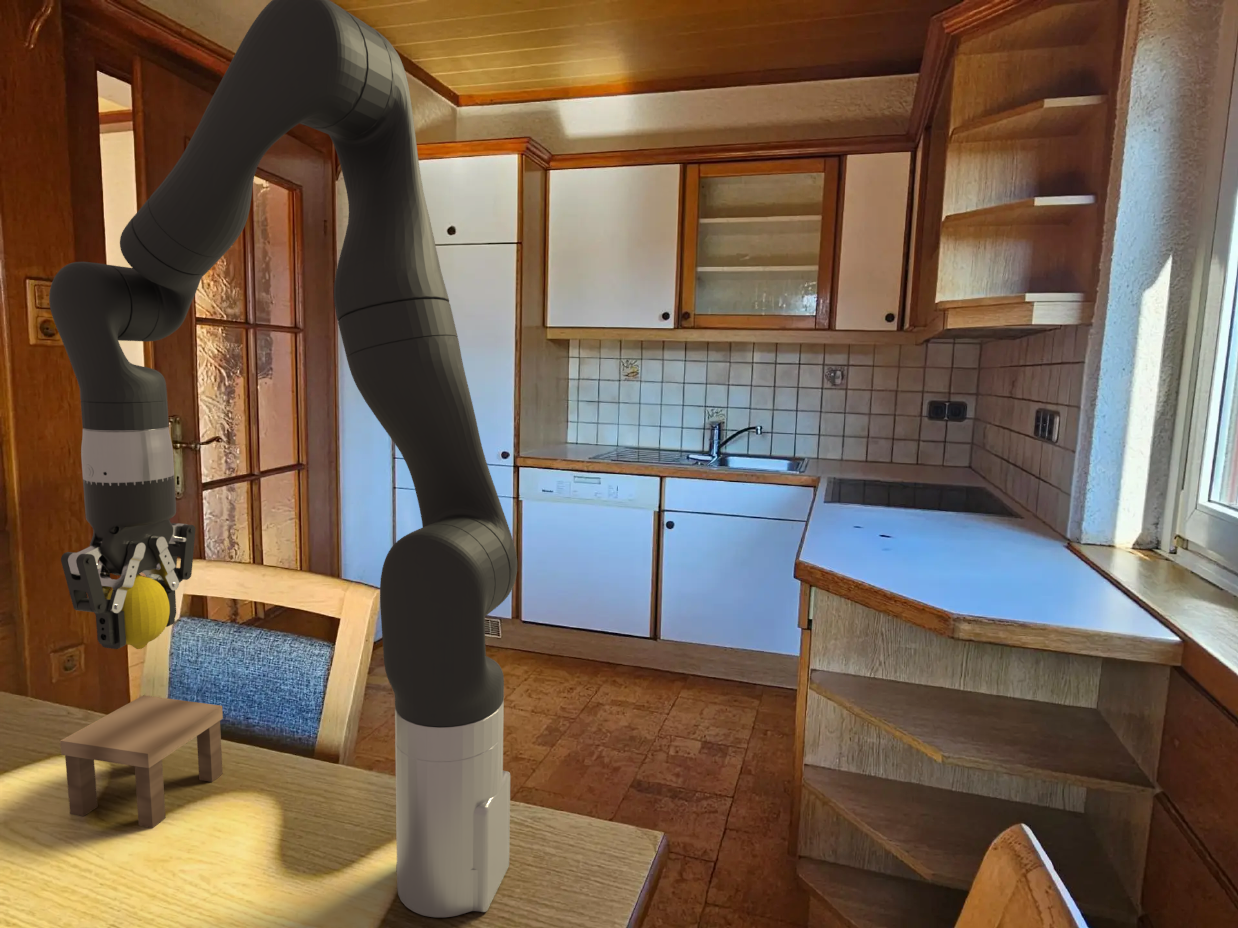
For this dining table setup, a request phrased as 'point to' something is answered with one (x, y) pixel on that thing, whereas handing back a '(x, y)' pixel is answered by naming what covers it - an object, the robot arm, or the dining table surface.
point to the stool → (142, 750)
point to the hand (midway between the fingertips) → (139, 634)
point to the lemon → (144, 611)
